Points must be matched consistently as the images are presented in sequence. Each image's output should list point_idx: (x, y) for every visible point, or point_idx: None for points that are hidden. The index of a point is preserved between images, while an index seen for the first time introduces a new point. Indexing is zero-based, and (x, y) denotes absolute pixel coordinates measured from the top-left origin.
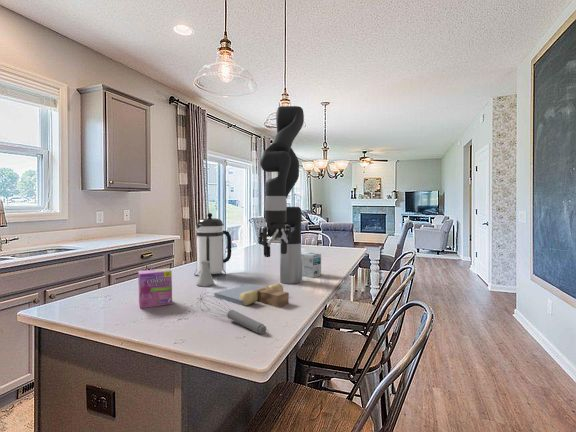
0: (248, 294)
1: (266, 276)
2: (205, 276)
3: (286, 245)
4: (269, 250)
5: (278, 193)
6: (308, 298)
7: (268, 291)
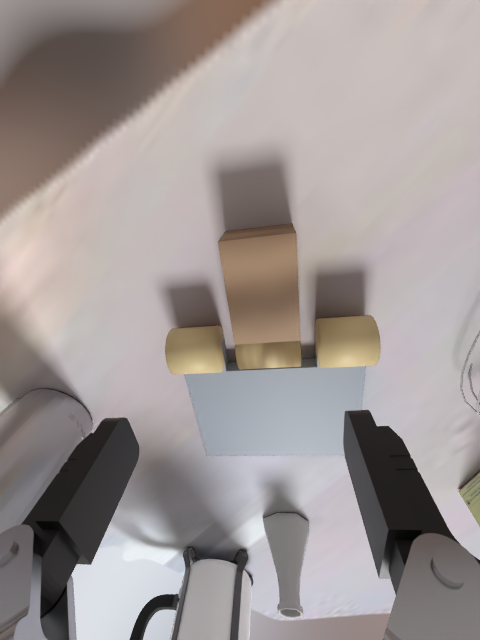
0: (367, 337)
1: None
2: (296, 549)
3: (53, 496)
4: (384, 469)
5: None
6: (113, 228)
7: (274, 316)
